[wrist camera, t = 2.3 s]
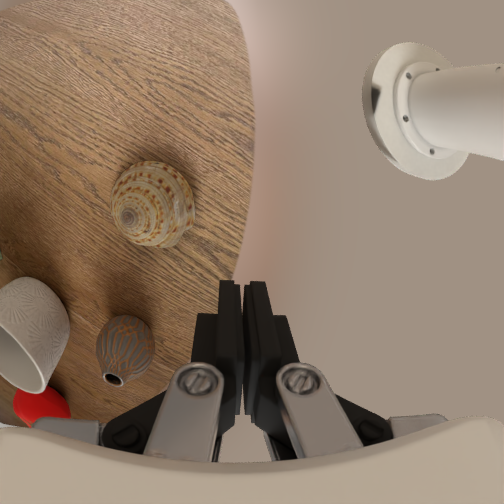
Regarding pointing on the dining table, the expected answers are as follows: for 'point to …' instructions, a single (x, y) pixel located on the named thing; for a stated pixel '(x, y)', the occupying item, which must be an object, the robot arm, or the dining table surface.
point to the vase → (124, 349)
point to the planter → (31, 333)
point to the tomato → (40, 405)
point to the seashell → (152, 204)
